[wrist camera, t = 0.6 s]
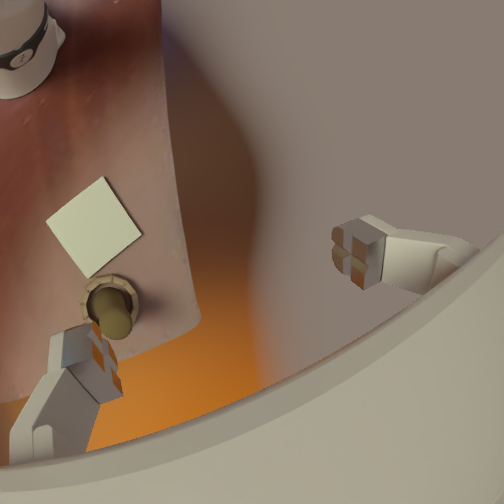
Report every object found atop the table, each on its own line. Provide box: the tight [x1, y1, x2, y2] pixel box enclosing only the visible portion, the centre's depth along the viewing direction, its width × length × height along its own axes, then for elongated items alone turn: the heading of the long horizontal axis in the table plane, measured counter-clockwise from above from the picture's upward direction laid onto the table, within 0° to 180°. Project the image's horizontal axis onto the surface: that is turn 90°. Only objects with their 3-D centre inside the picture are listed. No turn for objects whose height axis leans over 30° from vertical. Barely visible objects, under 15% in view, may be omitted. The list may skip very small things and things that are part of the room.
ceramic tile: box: [46, 177, 141, 279], centre depth 45 cm, size 12×12×1 cm
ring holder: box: [80, 274, 140, 334], centre depth 48 cm, size 10×10×2 cm
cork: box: [93, 287, 133, 340], centre depth 44 cm, size 6×6×11 cm
